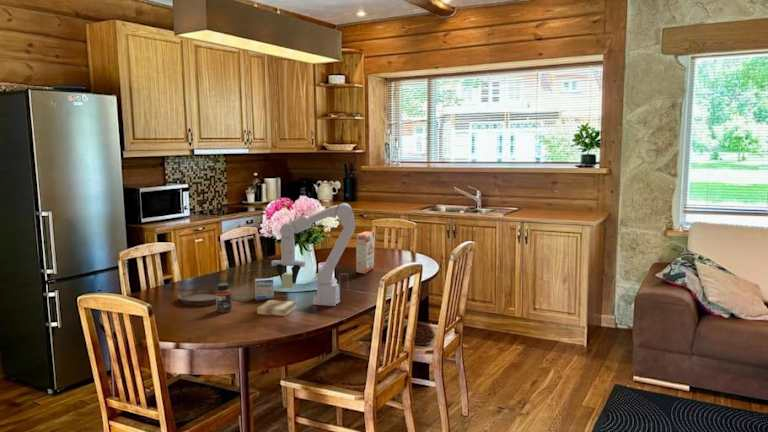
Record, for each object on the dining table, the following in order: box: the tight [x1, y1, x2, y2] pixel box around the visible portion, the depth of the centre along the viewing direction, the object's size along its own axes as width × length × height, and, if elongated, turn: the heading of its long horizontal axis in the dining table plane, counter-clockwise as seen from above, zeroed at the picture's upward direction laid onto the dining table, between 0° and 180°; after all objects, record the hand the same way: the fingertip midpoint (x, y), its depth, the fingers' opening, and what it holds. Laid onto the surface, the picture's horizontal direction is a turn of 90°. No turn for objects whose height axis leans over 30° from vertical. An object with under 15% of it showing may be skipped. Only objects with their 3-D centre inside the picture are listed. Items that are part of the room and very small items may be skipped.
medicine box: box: [254, 277, 275, 301], centre depth 258 cm, size 8×4×9 cm, turn 105°
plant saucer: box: [177, 287, 218, 306], centre depth 255 cm, size 21×21×3 cm
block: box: [281, 272, 297, 289], centre depth 248 cm, size 4×4×6 cm
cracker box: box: [355, 231, 375, 274], centre depth 310 cm, size 14×6×21 cm, turn 163°
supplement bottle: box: [215, 282, 233, 314], centre depth 238 cm, size 6×6×11 cm
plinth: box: [256, 299, 297, 317], centre depth 239 cm, size 12×12×3 cm
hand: (288, 282), depth 248 cm, fingers closed on block, 4 cm apart
